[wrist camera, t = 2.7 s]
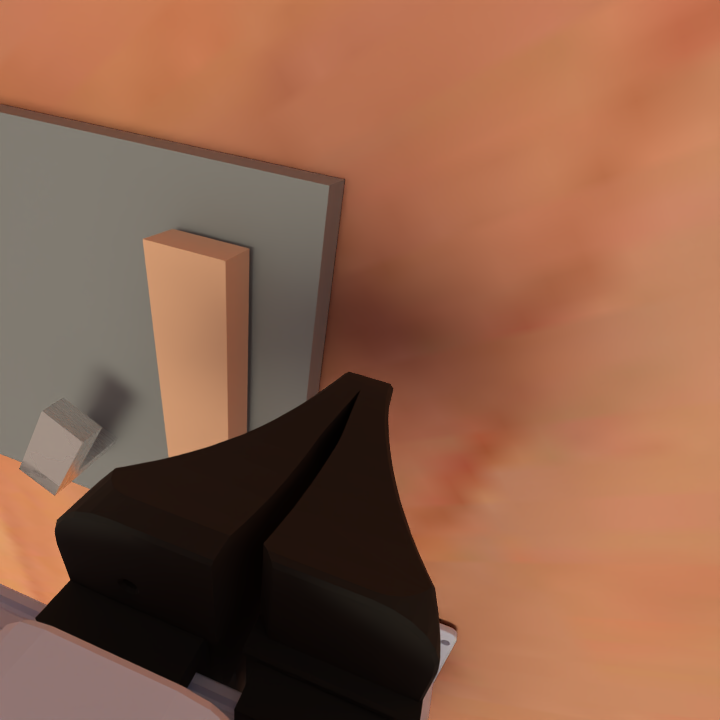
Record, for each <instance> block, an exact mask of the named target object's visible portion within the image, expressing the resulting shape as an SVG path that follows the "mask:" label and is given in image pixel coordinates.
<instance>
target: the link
mask: <svg viewBox="0 0 720 720" xmlns="http://www.w3.org/2000/svg"><path fill="white" fill-rule="evenodd" d="M143 247H144V255H145V263H146V272H147V280H148V289H149V297H150V305H151V314H152V322H153V331H154V339H155V348H156V356H157V364H158V373H159V381H160V390H161V398H162V406H163V415H164V423H165V432H166V440H167V448H168V457H173V456H177V455H181V454H185V453H188V452H192V451H195V450H199V449H202V448H206V447H209V446H212V445H215V444H218V443H220V442H223V441H226V440H229V439H231V438H234V437H237V436H240V435H242V434H245V433H247V385H248V317H249V248H245V247H241V246H238V245H234V244H230V243H226V242H222V241H218V240H214V239H210V238H207V237H203V236H199V235H195V234H191V233H187V232H183V231H179V230H176V229H171V230H168V231H165V232H162V233H159V234H156V235H153V236H150V237H147V238H144V239H143Z"/></svg>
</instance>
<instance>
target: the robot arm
mask: <svg viewBox="0 0 720 720" xmlns="http://www.w3.org/2000/svg"><path fill="white" fill-rule="evenodd" d="M392 392H393V387H392V386H391V384H389V383H385V382H382V381H379V380H375V379H372V378H369V377H365V376H362V375H359V374H355V373H352V372H348V373H346V374H344V375H343V376H341V377H340V378H339V379H337V380H336V381H335V382H333V383H332V384H331V385H329V386H328V387H326V388H325V389H323V390H322V391H321V392H319V393H318V394H316V395H315V396H313V397H312V398H310V399H308V400H307V401H305V402H304V403H302V404H301V405H299V406H297V407H296V408H294V409H292V410H290V411H289V412H287V413H285V414H283V415H282V416H280V417H278V418H276V419H274V420H272V421H270V422H268V423H267V424H264V425H262V426H260V427H258V428H256V429H254V430H252V431H249V432H247V433H245V434H242V435H240V436H237V437H234V438H231V439H229V440H226V441H223V442H220V443H218V444H215V445H212V446H209V447H206V448H202V449H199V450H195V451H192V452H188V453H185V454H181V455H177V456H173V457H169V458H165V459H160V460H155V461H150V462H145V463H140V464H135V465H130V466H124V467H118V468H115V469H114V470H112V471H111V472H110V473H109V474H107V475H106V476H105V477H104V478H102V479H101V480H100V481H99V482H98V483H97V484H96V485H94V486H93V487H92V488H91V489H90V490H89V491H88V492H87V493H86V494H85V495H84V496H83V497H81V498H80V499H79V500H78V501H77V502H76V503H75V504H74V505H73V506H72V507H71V508H70V509H69V510H67V511H66V512H65V513H64V514H63V515H62V516H61V517H60V518H59V519H58V520H57V523H56V527H55V536H56V541H57V545H58V548H59V551H60V553H61V556H62V559H63V561H64V564H65V567H66V569H67V572H68V575H69V577H70V581H69V582H68V583H67V584H66V585H65V586H64V588H63V589H62V590H61V591H60V592H59V593H58V594H57V595H56V596H55V597H54V598H53V599H52V600H51V601H50V603H49V604H48V605H46V604H44V603H41V602H39V601H37V600H35V599H33V598H30V597H28V596H26V595H24V594H21V593H19V592H17V591H15V590H13V589H10V588H8V587H6V586H4V585H2V584H0V720H428V718H429V711H430V703H431V696H432V688H433V683H434V681H435V679H436V677H437V675H438V674H439V672H440V670H441V668H442V666H443V665H444V663H445V661H446V659H447V657H448V655H449V654H450V652H451V650H452V648H453V646H454V644H455V643H456V641H457V632H456V631H455V630H454V629H453V628H451V627H449V626H446V625H443V624H441V623H439V614H438V606H437V599H436V592H435V587H434V585H433V583H432V581H431V579H430V577H429V575H428V573H427V570H426V568H425V566H424V564H423V561H422V559H421V557H420V555H419V552H418V550H417V547H416V545H415V542H414V540H413V537H412V535H411V532H410V529H409V526H408V523H407V520H406V517H405V514H404V511H403V508H402V505H401V501H400V497H399V494H398V490H397V486H396V481H395V477H394V472H393V466H392V460H391V453H390V444H389V428H388V412H389V405H390V401H391V396H392Z"/></svg>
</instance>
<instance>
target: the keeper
mask: <svg viewBox="0 0 720 720" xmlns="http://www.w3.org/2000/svg"><path fill="white" fill-rule="evenodd" d="M116 440H117V438H116V437H114V436H113V435H112V434H110V433H109V432H108V431H107V430H105V429H104V428H103V427H102V426H100V425H99V424H98V423H96V422H95V421H94V420H93V419H91V418H90V417H89V416H88V415H85V414H84V413H83V412H81V411H80V410H79V409H78V408H76V407H75V406H74V405H73V404H71V403H70V402H69V401H67V400H66V399H65V398H64V397H63V398H61V399H60V400H58V401H57V402H55V403H53V404H52V405H50V406H49V407H47V408H46V409H44V410H42V412H41V414H40V417H39V419H38V422H37V425H36V427H35V430H34V432H33V435H32V438H31V440H30V443H29V445H28V448H27V450H26V453H25V456H24V458H23V461H22V463H21V466H20V468H19V469H20V470H21V471H23V472H24V473H25V474H27V475H28V476H29V477H31V478H32V479H33V480H35V481H36V482H37V483H39V484H40V485H41V486H43V487H44V488H45V489H47V490H48V491H49V492H51V493H52V494H53V495H56V494H57V493H58V492H60V491H61V490H62V489H63V488H64V487H66V486H67V485H68V484H69V483H70V482H72V481H73V480H74V479H75V478H76V477H77V476H79V475H80V474H81V473H82V472H83V471H85V470H86V469H87V468H88V467H89V466H91V465H92V464H93V463H94V462H95V461H97V460H98V459H99V458H100V457H101V456H102V455H104V454H105V453H106V452H107V451H108V450H110V449H111V448H112V446H113V445H114V443H115V442H116Z"/></svg>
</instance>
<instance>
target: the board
mask: <svg viewBox="0 0 720 720" xmlns="http://www.w3.org/2000/svg"><path fill="white" fill-rule="evenodd" d="M344 182H345V179H340V178H336V177H331V176H327V175H322V174H317V173H313V172H308V171H304V170H299V169H295V168H290V167H286V166H281V165H276V164H272V163H267V162H263V161H258V160H254V159H249V158H244V157H240V156H235V155H231V154H226V153H222V152H217V151H212V150H208V149H203V148H199V147H194V146H190V145H185V144H180V143H176V142H171V141H167V140H162V139H158V138H153V137H149V136H144V135H139V134H135V133H130V132H126V131H121V130H117V129H112V128H107V127H103V126H98V125H94V124H89V123H85V122H80V121H75V120H71V119H66V118H62V117H57V116H53V115H48V114H44V113H39V112H34V111H30V110H25V109H21V108H16V107H12V106H7V105H2V104H0V454H2V455H4V456H7V457H10V458H12V459H15V460H17V461H20V462H22V461H23V458H24V456H25V453H26V450H27V448H28V445H29V443H30V440H31V438H32V435H33V432H34V430H35V427H36V425H37V422H38V419H39V417H40V414H41V412H42V410H44V409H46V408H47V407H49V406H50V405H52V404H53V403H55V402H57V401H58V400H60V399H61V398H63V397H64V398H65V399H66V400H67V401H69V402H70V403H71V404H73V405H74V406H75V407H76V408H78V409H79V410H80V411H81V412H83V413H84V414H85V415H88V416H89V417H90V418H91V419H93V420H94V421H95V422H96V423H98V424H99V425H100V426H102V427H103V428H104V429H105V430H107V431H108V432H109V433H110V434H112V435H113V436H114V437H116V438H117V440H116V442H115V443H114V445H113V446H112V448H111V449H110V450H108V451H107V452H106V453H105V454H104V455H102V456H101V457H100V458H99V459H98V460H97V461H95V462H94V463H93V464H92V465H91V466H89V467H88V468H87V469H86V470H85V471H83V472H82V473H81V474H80V475H79V476H77V477H76V478H75V479H74V480H73V481H72V482H74V483H76V484H79V485H82V486H84V487H87V488H89V489H91V488H92V487H93V486H94V485H96V484H97V483H98V482H99V481H100V480H101V479H102V478H104V477H105V476H106V475H107V474H109V473H110V472H111V471H112V470H114V469H115V468H118V467H124V466H130V465H135V464H140V463H145V462H150V461H155V460H160V459H165V458H169V457H168V448H167V440H166V432H165V423H164V415H163V406H162V398H161V390H160V381H159V373H158V364H157V356H156V348H155V339H154V331H153V322H152V314H151V305H150V297H149V289H148V280H147V272H146V263H145V255H144V247H143V239H144V238H147V237H150V236H153V235H156V234H159V233H162V232H165V231H168V230H171V229H176V230H179V231H183V232H187V233H191V234H195V235H199V236H203V237H207V238H210V239H214V240H218V241H222V242H226V243H230V244H234V245H238V246H241V247H245V248H249V317H248V385H247V432H249V431H252V430H254V429H256V428H258V427H260V426H262V425H264V424H267V423H268V422H270V421H272V420H274V419H276V418H278V417H280V416H282V415H283V414H285V413H287V412H289V411H290V410H292V409H294V408H296V407H297V406H299V405H301V404H302V403H304V402H305V401H307V400H308V399H310V398H312V397H313V396H315V395H316V394H318V391H319V383H320V375H321V367H322V359H323V351H324V343H325V335H326V327H327V319H328V311H329V303H330V295H331V287H332V279H333V271H334V263H335V254H336V246H337V238H338V230H339V222H340V214H341V206H342V198H343V190H344Z"/></svg>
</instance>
